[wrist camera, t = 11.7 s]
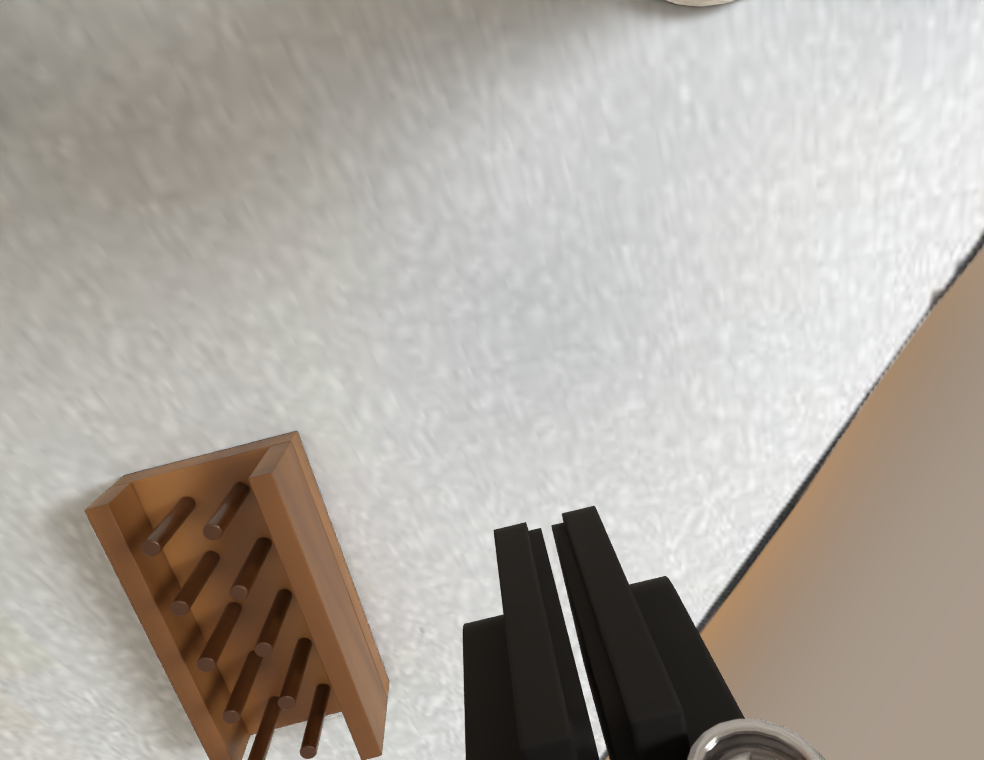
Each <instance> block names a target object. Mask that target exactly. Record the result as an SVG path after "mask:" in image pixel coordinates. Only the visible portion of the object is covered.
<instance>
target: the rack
mask: <svg viewBox="0 0 984 760" xmlns="http://www.w3.org/2000/svg"><path fill="white" fill-rule="evenodd" d="M85 513H86V515H87V517H88V519H89V521H90V523H91V525H92V527H93V529H94V531H95V533H96V535H97V537H98V539H99V541H100V543H101V545H102V547H103V549H104V550H105V552H106V554H107V556H108V558H109V560H110V562H111V564H112V566H113V568H114V570H115V572H116V574H117V576H118V578H119V580H120V582H121V584H122V586H123V588H124V590H125V592H126V594H127V596H128V598H129V600H130V602H131V604H132V606H133V608H134V610H135V612H136V614H137V616H138V618H139V620H140V622H141V624H142V626H143V628H144V630H145V632H146V634H147V636H148V638H149V640H150V642H151V644H152V646H153V648H154V650H155V652H156V654H157V656H158V658H159V660H160V662H161V664H162V666H163V668H164V670H165V672H166V674H167V676H168V678H169V680H170V682H171V684H172V686H173V688H174V690H175V692H176V694H177V696H178V698H179V700H180V702H181V704H182V706H183V708H184V710H185V712H186V714H187V716H188V718H189V720H190V722H191V724H192V726H193V728H194V730H195V732H196V734H197V736H198V738H199V740H200V742H201V744H202V746H203V748H204V750H205V752H206V754H207V756H208V758H209V760H242V758H243V755H244V752H245V749H246V746H247V743H248V741H249V738H250V735H253V734H256V737H255V740H254V743H253V746H252V749H251V752H250V755H249V758H248V760H265V759H266V756H267V753H268V750H269V746H270V743H271V740H272V737H273V733H274V730H275V729H276V728H280V727H284V726H288V725H292V724H295V723H299V722H303V721H307V720H308V721H307V725H306V729H305V733H304V737H303V741H302V745H301V749H300V755H301V756H302V757H303V758H305V759H311V758H313V757H314V756H315V755H316V753H317V749H318V745H319V740H320V736H321V731H322V727H323V722H324V718H325V716H326V715H330V714H334V713H338V712H341V711H342V713H343V716H344V718H345V721H346V723H347V725H348V728H349V730H350V733H351V735H352V738H353V740H354V743H355V745H356V748H357V750H358V753H359V755H360V758H361V760H367V759H370V758H374V757H378V756H381V755H382V749H383V739H384V730H385V720H386V711H387V701H388V700H387V699H388V690H389V679H388V677H387V674H386V671H385V668H384V666H383V663H382V660H381V658H380V655H379V652H378V649H377V647H376V644H375V641H374V638H373V636H372V633H371V630H370V628H369V625H368V622H367V619H366V617H365V614H364V611H363V608H362V606H361V603H360V600H359V598H358V595H357V592H356V589H355V587H354V584H353V581H352V578H351V576H350V573H349V570H348V568H347V565H346V562H345V559H344V557H343V554H342V551H341V549H340V546H339V543H338V540H337V538H336V535H335V532H334V529H333V527H332V524H331V521H330V519H329V516H328V513H327V510H326V508H325V505H324V502H323V499H322V497H321V494H320V491H319V489H318V486H317V483H316V480H315V478H314V475H313V472H312V469H311V467H310V464H309V461H308V459H307V456H306V453H305V450H304V448H303V445H302V442H301V439H300V437H299V434H298V432H297V431H295V432H291V433H287V434H283V435H280V436H276V437H272V438H268V439H264V440H260V441H256V442H252V443H249V444H245V445H241V446H237V447H233V448H229V449H225V450H221V451H217V452H214V453H210V454H206V455H202V456H198V457H194V458H190V459H186V460H183V461H179V462H175V463H171V464H167V465H163V466H159V467H155V468H152V469H148V470H144V471H140V472H136V473H132V474H128V475H124V476H123V477H122V478H121V479H120V480H119V481H117V482H116V483H115V484H114V485H113V486H112V487H110V488H109V489H108V490H107V491H106V492H104V493H103V494H102V495H101V496H100V497H99V498H98V499H97V500H95V501H94V502H93V503H92V504H91V505H90V506H89V507H87V508H86V509H85Z"/></svg>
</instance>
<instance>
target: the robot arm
mask: <svg viewBox="0 0 984 760" xmlns="http://www.w3.org/2000/svg"><path fill="white" fill-rule="evenodd" d="M666 1H669V2H672V3H675V4H681V5H690V6H700V7H701V6H709V5H717V4H725V3H728V2H731V1H734V0H666ZM562 517H563V522H564V523H559V524H555V525H551V526H552V531H553V535H554V539H555V543H556V548H557V552H558V556H559V560H560V565H561V569H562V573H563V577H564V582H565V586H566V590H567V594H568V599H569V603H570V607H571V611H572V616H573V620H574V624H575V628H576V633H577V637H578V641H579V645H580V650H581V654H582V658H583V662H584V666H585V670H586V674H587V678H588V681H589V685H590V689H591V692H592V696H593V700H594V703H595V707H596V711H597V714H598V718H599V722H600V726H601V729H602V733H603V737H604V740H605V744H606V748H607V751H608V755H609V759H610V760H825V759H824V757H823V756H822V755H821V754H820V753H819V752H818V751H817V750H816V749H815V748H814V747H813V746H811V745H810V744H809V743H808V742H807V741H806V740H805V739H804V738H802V737H801V736H799V735H797V734H795V733H794V732H792V731H790V730H788V729H787V728H785V727H783V726H780V725H777V724H774V723H770V722H767V721H763V720H756V719H745V718H744V716H743V714H742V712H741V710H740V709H739V707H738V705H737V703H736V701H735V699H734V697H733V696H732V694H731V692H730V690H729V688H728V686H727V685H726V683H725V681H724V679H723V677H722V675H721V673H720V672H719V670H718V668H717V666H716V664H715V662H714V661H713V659H712V657H711V655H710V653H709V651H708V649H707V647H706V646H705V644H704V642H703V640H702V638H701V636H700V634H699V633H698V631H697V629H696V627H695V625H694V623H693V621H692V620H691V618H690V616H689V614H688V612H687V610H686V608H685V607H684V605H683V603H682V601H681V599H680V597H679V595H678V594H677V592H676V590H675V588H674V586H673V584H672V583H671V581H670V580H669V578H668V577H666V576H663V577H659V578H655V579H651V580H646V581H642V582H638V583H634V584H630V585H629V583H628V581H627V579H626V576H625V574H624V572H623V570H622V567H621V565H620V563H619V560H618V558H617V556H616V553H615V551H614V549H613V546H612V544H611V542H610V539H609V537H608V535H607V533H606V530H605V528H604V526H603V523H602V521H601V519H600V516H599V514H598V512H597V509H596V507H595V506H591V507H587V508H583V509H579V510H575V511H570V512H566V513H562ZM494 538H495V546H496V555H497V563H498V572H499V580H500V588H501V597H502V605H503V613H504V615H500V616H495V617H491V618H487V619H483V620H479V621H474V622H470V623H466V624H464V626H463V666H464V706H465V745H466V760H599V756H598V752H597V748H596V744H595V740H594V735H593V731H592V727H591V723H590V719H589V715H588V711H587V707H586V703H585V699H584V696H583V692H582V688H581V684H580V680H579V676H578V672H577V668H576V664H575V660H574V656H573V652H572V648H571V644H570V640H569V636H568V632H567V629H566V625H565V621H564V617H563V613H562V609H561V605H560V601H559V597H558V593H557V589H556V585H555V581H554V577H553V573H552V569H551V565H550V562H549V558H548V554H547V550H546V546H545V542H544V538H543V534H542V530H541V528H539V529H535V530H530V531H528V527H527V524H526V522H525V523H521V524H516V525H512V526H508V527H504V528H500V529H496V530H494Z"/></svg>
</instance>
